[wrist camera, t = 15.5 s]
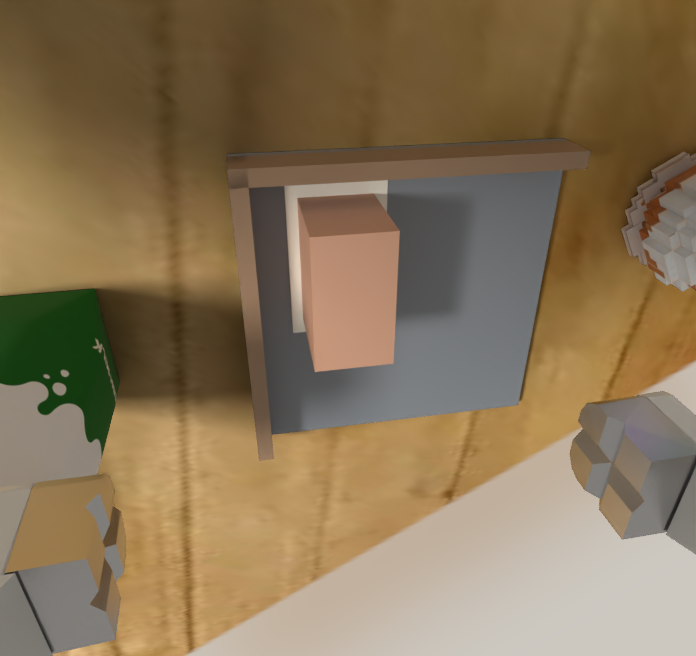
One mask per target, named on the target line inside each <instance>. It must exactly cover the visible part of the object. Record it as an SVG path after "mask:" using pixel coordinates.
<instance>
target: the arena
mask: <svg viewBox="0 0 696 656" xmlns="http://www.w3.org/2000/svg"><path fill="white" fill-rule="evenodd" d="M590 154H591V151H590V150H588V149H586V148H584V147H582V146H580V145H577V144H575V143H573V142H571V141H569V140H567V139H565V138H555V139H534V140H513V141H491V142H470V143H449V144H428V145H407V146H386V147H365V148H344V149H322V150H301V151H280V152H259V153H238V154H227V176H228V185H229V194H230V203H231V212H232V221H233V230H234V239H235V248H236V257H237V266H238V275H239V283H240V292H241V301H242V310H243V319H244V328H245V337H246V346H247V355H248V364H249V373H250V382H251V391H252V400H253V409H254V418H255V427H256V436H257V445H258V454H259V461H261V460H269V459H274V455H273V444H272V435H273V434H282V433H290V432H298V431H306V430H315V429H323V428H331V427H340V426H348V425H356V424H365V423H373V422H381V421H390V420H398V419H406V418H415V417H423V416H431V415H439V414H448V413H456V412H464V411H473V410H481V409H489V408H498V407H506V406H514V405H518V403H519V398H520V393H521V387H522V382H523V377H524V372H525V366H526V361H527V356H528V351H529V346H530V340H531V335H532V330H533V325H534V319H535V314H536V309H537V304H538V299H539V293H540V288H541V283H542V278H543V272H544V267H545V262H546V257H547V252H548V246H549V241H550V236H551V231H552V225H553V220H554V215H555V210H556V205H557V199H558V194H559V189H560V184H561V178H562V173H563V170H576V169H587V168H588V163H589V159H590ZM371 193H374V194H375V196H376V197H377V199H378V200H379V201H380V203H381V204H382V206H383V207H384V209H385V210H386V212H387V213H388V215H389V216H390V218H391V219H392V221H393V222H394V223H395V225H396V226H397V228H398V229H399V231H400V236H399V258H398V279H397V300H396V322H395V343H394V364H386V365H376V366H367V367H357V368H348V369H338V370H329V371H319V372H315V370H314V365H313V361H312V356H311V352H310V347H309V343H308V338H307V334H306V329H305V325H304V320H303V307H302V287H301V267H300V246H299V226H298V206H297V198H304V197H321V196H337V195H354V194H371Z"/></svg>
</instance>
